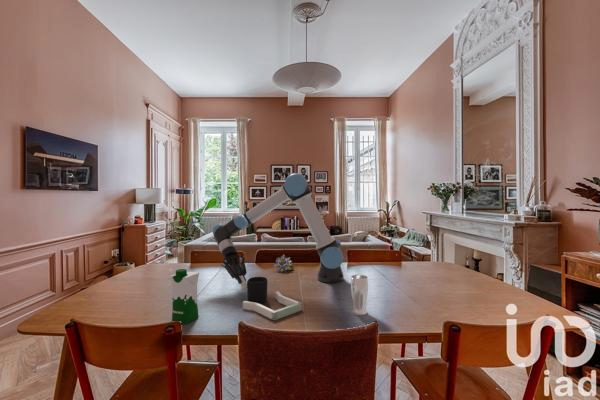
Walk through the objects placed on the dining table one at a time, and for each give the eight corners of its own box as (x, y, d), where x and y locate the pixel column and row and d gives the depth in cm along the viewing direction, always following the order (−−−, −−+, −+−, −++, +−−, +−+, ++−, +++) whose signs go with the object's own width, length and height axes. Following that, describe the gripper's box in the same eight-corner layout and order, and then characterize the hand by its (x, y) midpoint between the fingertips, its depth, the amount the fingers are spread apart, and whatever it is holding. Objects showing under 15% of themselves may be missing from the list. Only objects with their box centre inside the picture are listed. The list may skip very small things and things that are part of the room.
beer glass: (349, 309, 124) (349, 274, 124) (365, 309, 125) (365, 274, 125) (353, 316, 117) (353, 279, 117) (370, 315, 118) (370, 278, 118)
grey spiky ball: (282, 280, 187) (270, 265, 185) (283, 272, 198) (272, 258, 196) (296, 270, 186) (285, 256, 184) (296, 263, 197) (286, 249, 195)
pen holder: (271, 300, 135) (271, 279, 135) (255, 306, 128) (255, 283, 128) (258, 296, 142) (258, 275, 142) (242, 301, 135) (242, 279, 135)
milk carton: (168, 322, 112) (167, 270, 112) (184, 313, 121) (184, 265, 121) (186, 325, 110) (186, 272, 109) (202, 316, 118) (201, 267, 118)
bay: (241, 308, 126) (241, 301, 126) (277, 297, 140) (277, 291, 140) (268, 322, 112) (268, 314, 112) (305, 308, 126) (305, 301, 126)
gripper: (236, 252, 161) (253, 289, 149) (214, 255, 152) (230, 295, 140) (241, 243, 157) (259, 281, 145) (219, 246, 148) (236, 287, 136)
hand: (245, 288), depth 142 cm, fingers closed
